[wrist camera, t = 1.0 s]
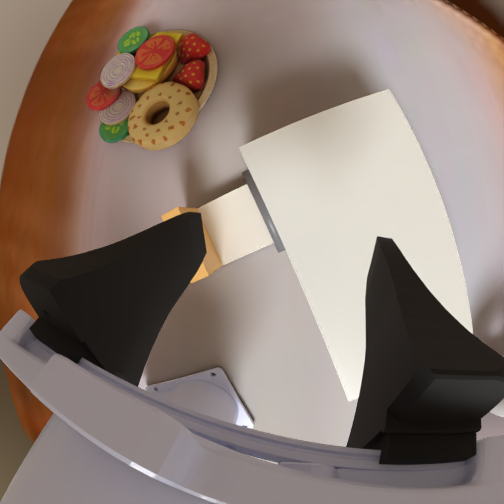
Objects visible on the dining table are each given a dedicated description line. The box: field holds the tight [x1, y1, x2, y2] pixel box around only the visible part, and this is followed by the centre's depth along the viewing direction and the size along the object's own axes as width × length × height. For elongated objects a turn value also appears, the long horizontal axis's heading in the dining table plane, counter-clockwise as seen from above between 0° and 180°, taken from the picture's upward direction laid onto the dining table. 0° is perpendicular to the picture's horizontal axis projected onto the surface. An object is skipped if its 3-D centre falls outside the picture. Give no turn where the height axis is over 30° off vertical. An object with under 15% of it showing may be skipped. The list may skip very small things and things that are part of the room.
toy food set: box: [86, 27, 218, 150], centre depth 22 cm, size 13×13×3 cm
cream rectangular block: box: [239, 89, 473, 401], centre depth 19 cm, size 12×19×6 cm, turn 25°
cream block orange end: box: [161, 184, 274, 283], centre depth 20 cm, size 15×5×5 cm, turn 115°
